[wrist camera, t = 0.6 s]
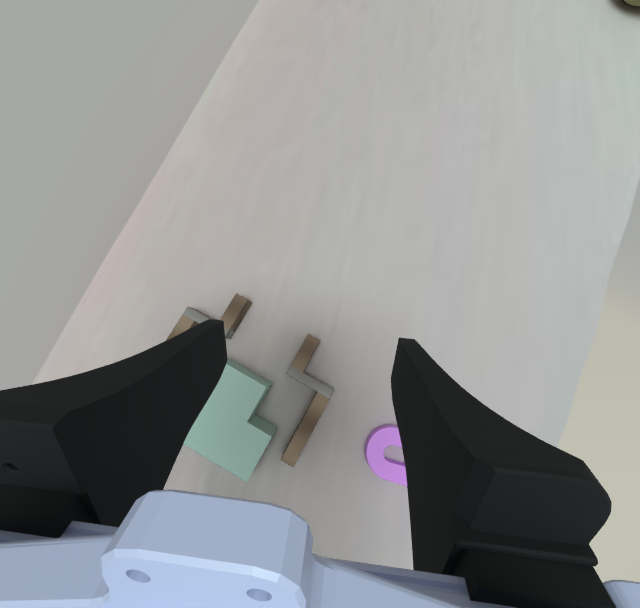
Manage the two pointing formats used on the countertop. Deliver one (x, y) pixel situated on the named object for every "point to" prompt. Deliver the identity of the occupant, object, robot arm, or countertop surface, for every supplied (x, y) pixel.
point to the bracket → (375, 456)
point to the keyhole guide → (296, 371)
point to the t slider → (233, 422)
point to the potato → (633, 2)
